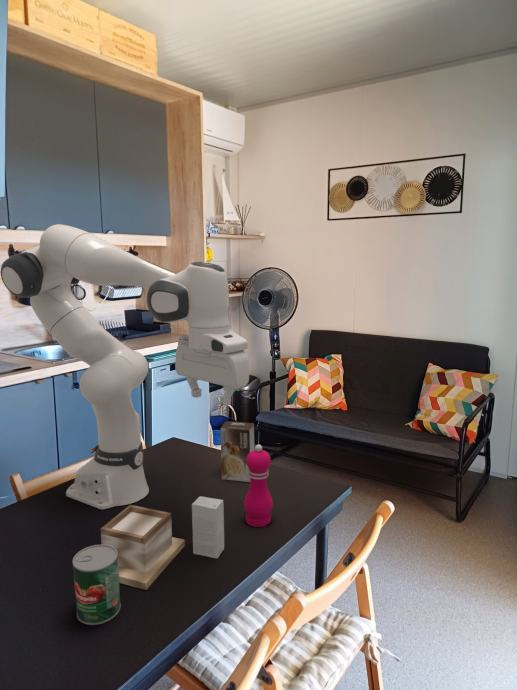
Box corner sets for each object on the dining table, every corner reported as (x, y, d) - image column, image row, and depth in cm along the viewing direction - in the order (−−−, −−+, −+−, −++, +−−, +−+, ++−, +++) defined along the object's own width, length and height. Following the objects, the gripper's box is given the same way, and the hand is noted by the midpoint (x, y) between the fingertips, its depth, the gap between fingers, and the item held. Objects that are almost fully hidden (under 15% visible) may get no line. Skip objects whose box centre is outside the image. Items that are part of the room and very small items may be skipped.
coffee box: (255, 473, 150) (255, 422, 147) (250, 482, 143) (250, 430, 140) (226, 470, 152) (226, 420, 149) (220, 479, 146) (219, 427, 143)
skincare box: (224, 548, 112) (224, 499, 109) (217, 559, 108) (216, 509, 106) (200, 543, 114) (199, 495, 111) (192, 554, 110) (191, 504, 107)
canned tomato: (123, 593, 97) (120, 542, 95) (117, 623, 89) (114, 568, 87) (81, 597, 96) (78, 545, 94) (71, 627, 88) (67, 571, 86)
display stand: (87, 574, 103) (85, 533, 101) (132, 533, 117) (130, 497, 116) (146, 590, 98) (144, 547, 96) (184, 545, 113) (183, 508, 111)
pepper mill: (269, 529, 119) (270, 451, 116) (240, 526, 121) (240, 449, 117) (274, 514, 126) (275, 440, 123) (247, 511, 128) (247, 438, 124)
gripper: (167, 335, 111) (169, 395, 113) (232, 346, 97) (233, 413, 100) (189, 332, 115) (190, 389, 118) (253, 342, 102) (254, 406, 104)
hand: (210, 400), depth 109 cm, fingers open, 8 cm apart
